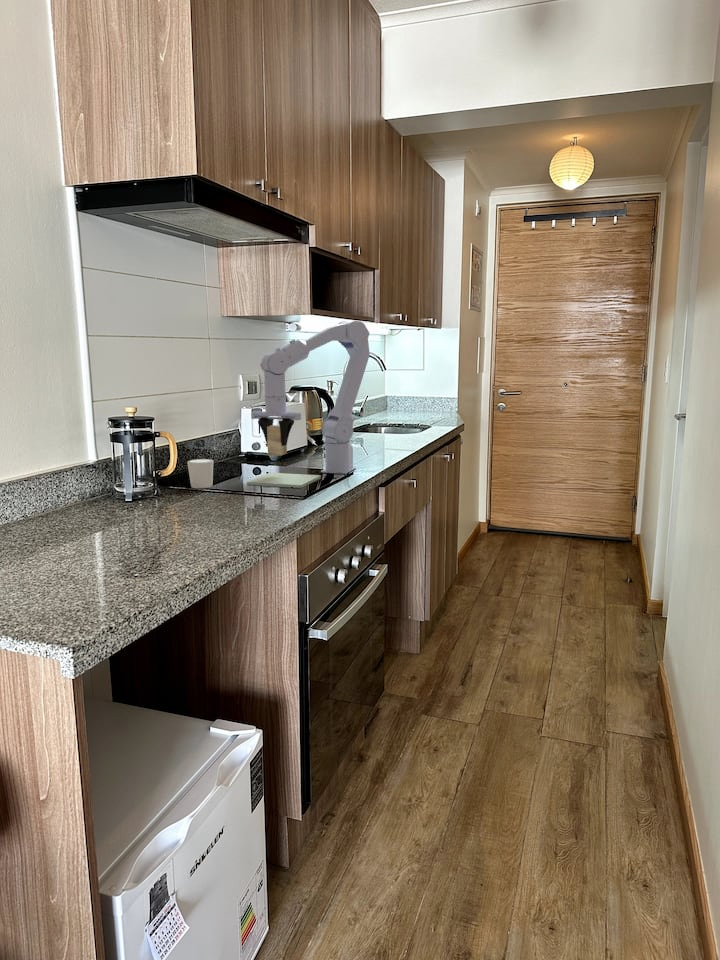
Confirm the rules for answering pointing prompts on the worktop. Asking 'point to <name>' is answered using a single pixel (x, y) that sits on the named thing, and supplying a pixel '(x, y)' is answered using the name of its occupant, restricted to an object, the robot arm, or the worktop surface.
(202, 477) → the light grey cup
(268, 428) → the maple block
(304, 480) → the cutting board
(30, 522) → the worktop surface
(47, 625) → the worktop surface
